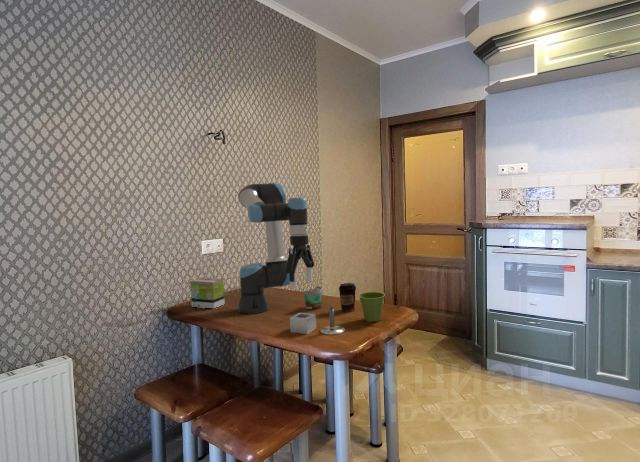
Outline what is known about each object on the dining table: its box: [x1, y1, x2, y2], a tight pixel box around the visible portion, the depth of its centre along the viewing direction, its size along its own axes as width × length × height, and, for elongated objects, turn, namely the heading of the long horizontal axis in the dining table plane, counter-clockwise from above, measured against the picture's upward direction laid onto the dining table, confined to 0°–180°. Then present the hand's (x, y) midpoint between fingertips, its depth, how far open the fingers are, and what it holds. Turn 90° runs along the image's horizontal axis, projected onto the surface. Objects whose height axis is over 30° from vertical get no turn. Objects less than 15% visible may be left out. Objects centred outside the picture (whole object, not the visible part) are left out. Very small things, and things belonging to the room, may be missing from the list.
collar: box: [289, 312, 317, 335], centre depth 162 cm, size 8×8×6 cm
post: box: [319, 303, 346, 336], centre depth 159 cm, size 10×10×11 cm
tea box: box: [189, 277, 226, 309], centre depth 209 cm, size 15×10×15 cm
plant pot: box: [357, 291, 386, 323], centre depth 171 cm, size 12×12×11 cm
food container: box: [303, 285, 323, 311], centre depth 195 cm, size 12×6×10 cm, turn 148°
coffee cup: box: [338, 282, 357, 313], centre depth 188 cm, size 9×8×13 cm
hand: (301, 285), depth 161 cm, fingers open, 13 cm apart
